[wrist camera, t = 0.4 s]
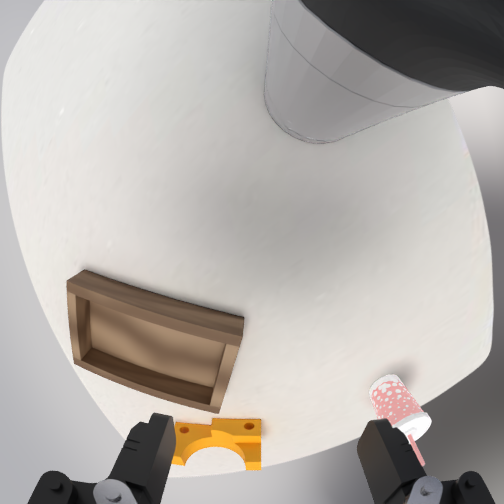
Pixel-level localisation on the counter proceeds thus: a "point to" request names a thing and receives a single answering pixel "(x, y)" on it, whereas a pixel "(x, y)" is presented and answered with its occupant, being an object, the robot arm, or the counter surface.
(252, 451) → the pipe clamp
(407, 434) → the beverage cup
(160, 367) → the wooden tray
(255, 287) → the counter surface
